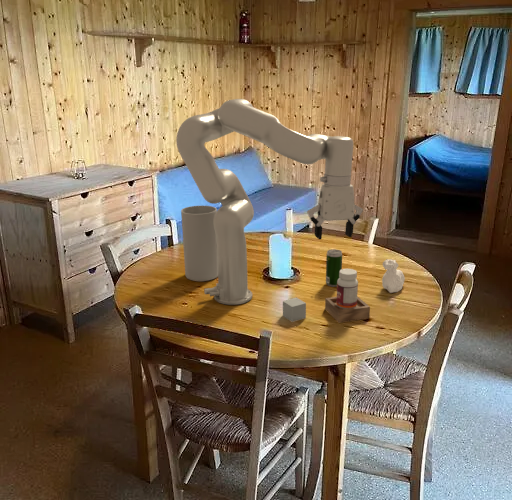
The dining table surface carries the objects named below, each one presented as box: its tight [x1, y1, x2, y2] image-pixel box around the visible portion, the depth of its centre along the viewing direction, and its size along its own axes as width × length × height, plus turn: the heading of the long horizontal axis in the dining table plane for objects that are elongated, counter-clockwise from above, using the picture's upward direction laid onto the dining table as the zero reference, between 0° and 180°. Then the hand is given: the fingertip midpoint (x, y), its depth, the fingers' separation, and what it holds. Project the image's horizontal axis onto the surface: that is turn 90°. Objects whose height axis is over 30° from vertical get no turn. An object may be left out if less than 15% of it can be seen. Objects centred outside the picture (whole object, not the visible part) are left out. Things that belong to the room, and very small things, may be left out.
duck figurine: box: [381, 258, 406, 294], centre depth 177 cm, size 12×8×11 cm
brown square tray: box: [324, 295, 371, 324], centre depth 159 cm, size 10×10×4 cm
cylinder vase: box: [180, 205, 218, 282], centre depth 188 cm, size 12×12×25 cm
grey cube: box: [282, 297, 307, 323], centre depth 158 cm, size 5×5×5 cm
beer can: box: [325, 248, 343, 288], centre depth 181 cm, size 5×5×12 cm
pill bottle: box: [336, 268, 359, 309], centre depth 157 cm, size 6×6×11 cm
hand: (333, 236), depth 156 cm, fingers open, 9 cm apart
